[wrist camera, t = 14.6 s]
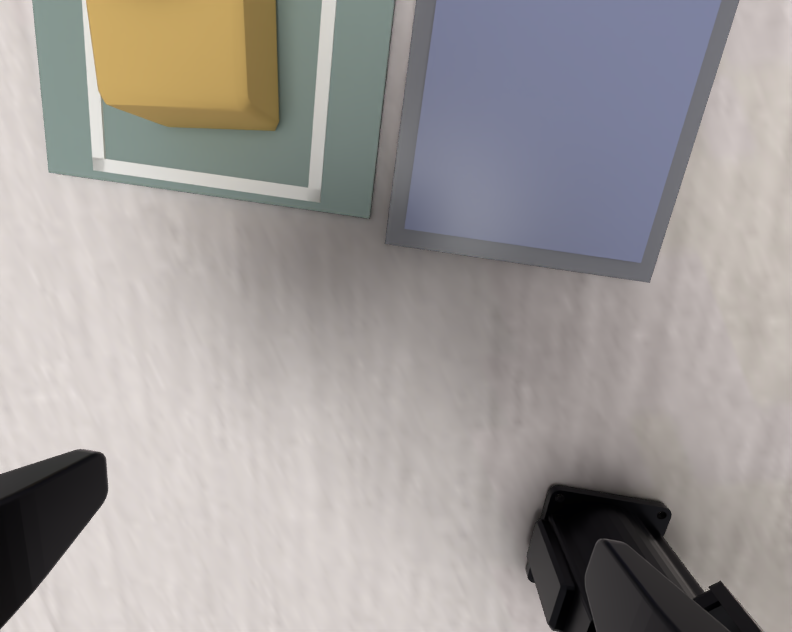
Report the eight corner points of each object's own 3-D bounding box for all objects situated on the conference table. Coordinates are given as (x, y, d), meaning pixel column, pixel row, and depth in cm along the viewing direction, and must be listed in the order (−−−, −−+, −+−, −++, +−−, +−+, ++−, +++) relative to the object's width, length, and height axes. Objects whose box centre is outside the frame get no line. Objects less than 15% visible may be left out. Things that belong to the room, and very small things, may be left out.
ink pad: (745, -82, 14) (781, -116, 13) (634, 278, 18) (653, 283, 16) (434, -116, 15) (435, -152, 13) (387, 242, 18) (384, 244, 17)
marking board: (420, -219, 14) (420, -232, 14) (369, 218, 18) (368, 218, 18) (14, -260, 15) (3, -273, 14) (54, 173, 19) (46, 172, 18)
